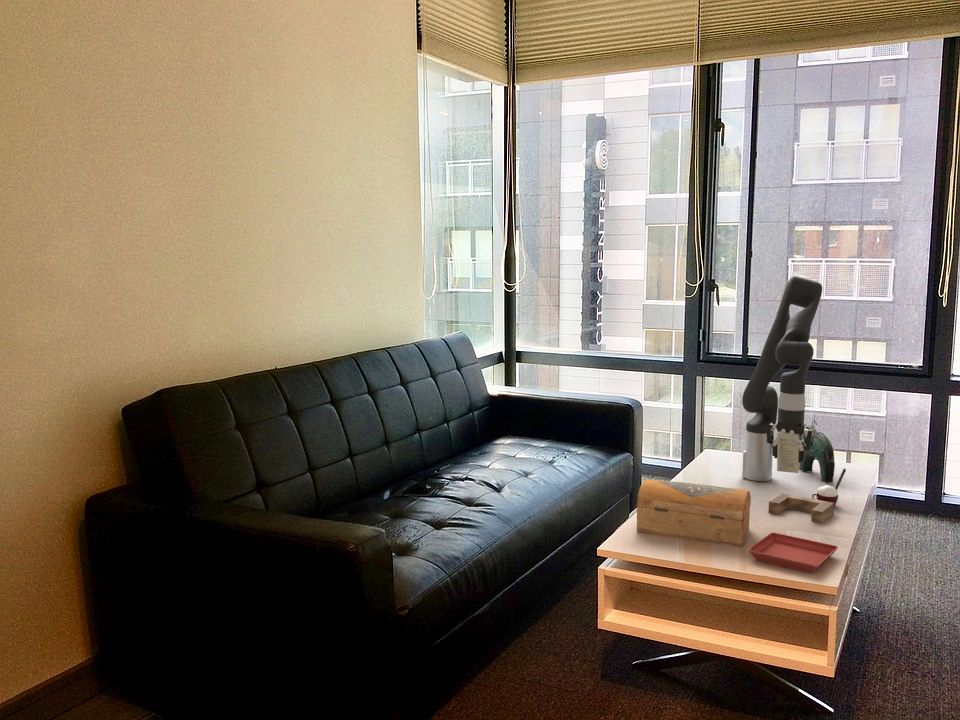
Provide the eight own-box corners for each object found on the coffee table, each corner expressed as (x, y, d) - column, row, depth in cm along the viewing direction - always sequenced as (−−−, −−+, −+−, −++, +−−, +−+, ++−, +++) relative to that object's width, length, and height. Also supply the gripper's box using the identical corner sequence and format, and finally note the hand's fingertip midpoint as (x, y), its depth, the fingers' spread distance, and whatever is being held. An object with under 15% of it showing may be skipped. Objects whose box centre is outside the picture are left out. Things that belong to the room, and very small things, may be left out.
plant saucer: (771, 542, 229) (771, 531, 229) (838, 557, 218) (839, 545, 217) (746, 561, 215) (746, 549, 215) (817, 578, 204) (817, 566, 203)
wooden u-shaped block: (768, 512, 254) (768, 501, 253) (781, 503, 262) (781, 493, 261) (821, 523, 243) (822, 511, 243) (833, 513, 252) (833, 502, 251)
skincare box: (799, 470, 250) (801, 431, 248) (798, 473, 246) (800, 434, 244) (777, 467, 253) (779, 429, 251) (775, 471, 249) (777, 432, 247)
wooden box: (751, 529, 239) (752, 483, 237) (742, 548, 224) (744, 499, 222) (649, 515, 252) (650, 472, 250) (635, 532, 237) (636, 486, 235)
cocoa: (811, 506, 260) (810, 470, 259) (815, 500, 266) (815, 464, 264) (843, 510, 255) (843, 473, 253) (847, 504, 260) (847, 467, 258)
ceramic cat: (793, 468, 303) (796, 415, 300) (810, 468, 304) (812, 415, 301) (821, 483, 283) (824, 427, 281) (839, 483, 284) (842, 426, 281)
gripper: (763, 405, 249) (760, 458, 251) (810, 412, 239) (807, 467, 242) (773, 401, 254) (770, 453, 257) (820, 408, 245) (817, 461, 247)
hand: (788, 459), depth 249 cm, fingers closed on skincare box, 7 cm apart
